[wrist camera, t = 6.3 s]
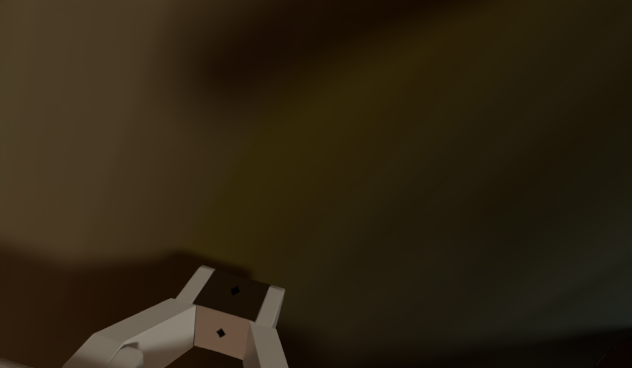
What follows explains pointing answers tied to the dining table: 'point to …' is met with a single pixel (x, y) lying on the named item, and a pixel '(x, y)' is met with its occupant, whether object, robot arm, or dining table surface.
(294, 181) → the dining table surface
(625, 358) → the coffee mug
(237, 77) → the dining table surface
